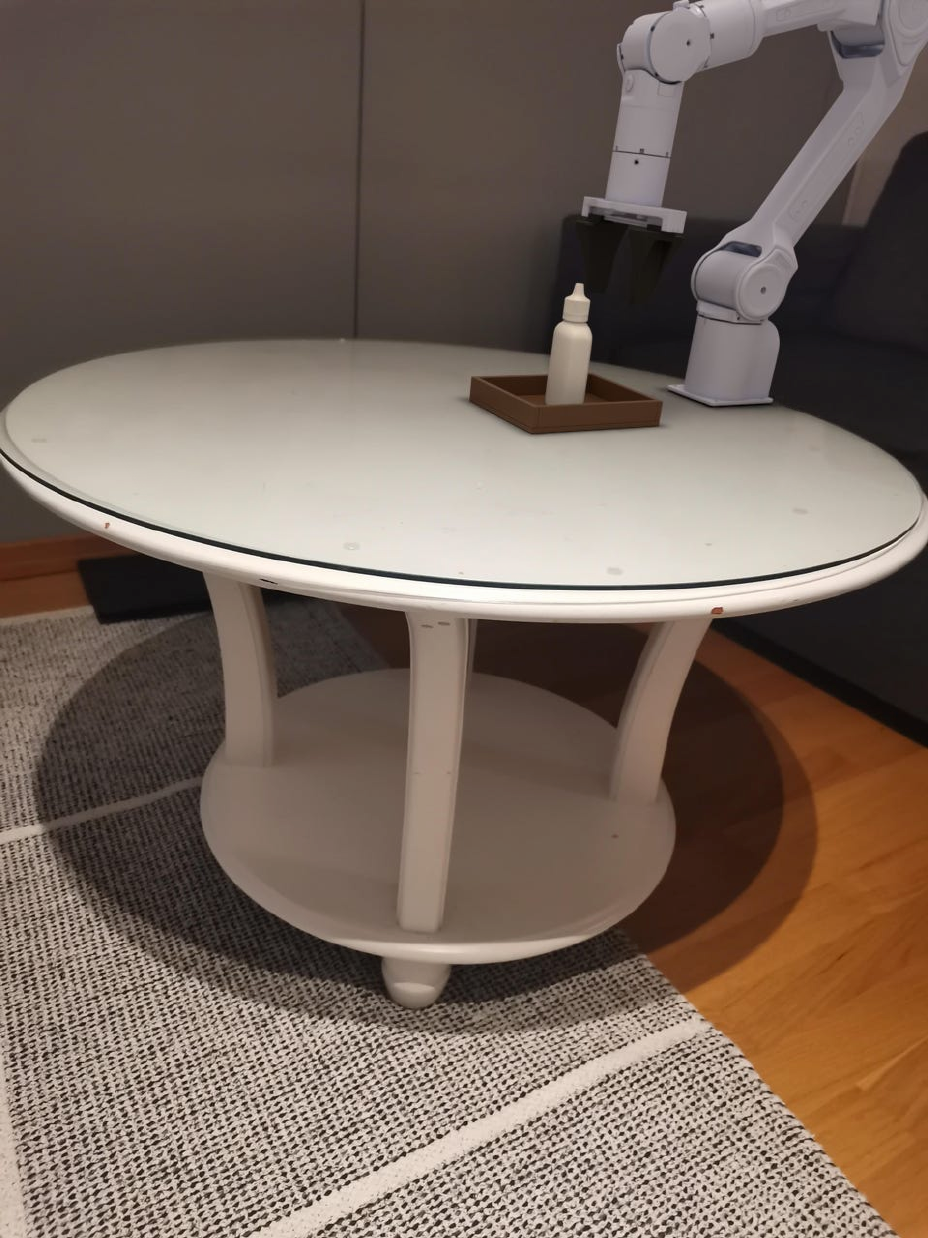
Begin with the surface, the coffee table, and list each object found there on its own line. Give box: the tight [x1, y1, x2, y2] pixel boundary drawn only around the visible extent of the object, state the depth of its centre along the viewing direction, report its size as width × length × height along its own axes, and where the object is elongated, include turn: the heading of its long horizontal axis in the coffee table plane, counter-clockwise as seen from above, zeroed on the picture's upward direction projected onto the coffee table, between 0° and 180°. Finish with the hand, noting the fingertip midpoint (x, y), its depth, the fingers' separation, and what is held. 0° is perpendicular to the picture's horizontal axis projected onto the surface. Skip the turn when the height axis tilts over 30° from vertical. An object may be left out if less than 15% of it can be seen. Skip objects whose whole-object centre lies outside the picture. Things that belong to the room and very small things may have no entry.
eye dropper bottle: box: [545, 282, 593, 405], centre depth 93 cm, size 4×6×12 cm
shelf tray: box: [468, 372, 664, 435], centre depth 95 cm, size 15×12×2 cm
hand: (616, 298), depth 99 cm, fingers open, 7 cm apart
